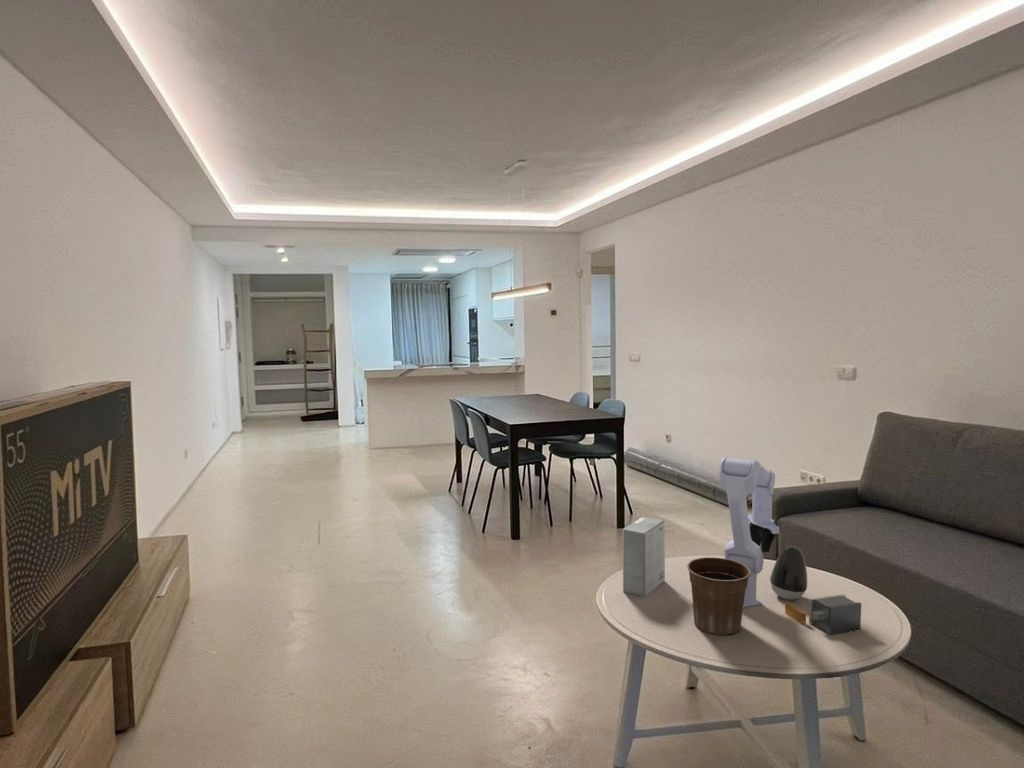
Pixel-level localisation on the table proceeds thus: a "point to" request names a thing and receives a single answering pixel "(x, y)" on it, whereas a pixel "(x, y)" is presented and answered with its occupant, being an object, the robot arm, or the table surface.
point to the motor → (829, 614)
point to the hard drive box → (643, 556)
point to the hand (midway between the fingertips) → (761, 549)
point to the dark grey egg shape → (789, 574)
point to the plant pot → (718, 594)
